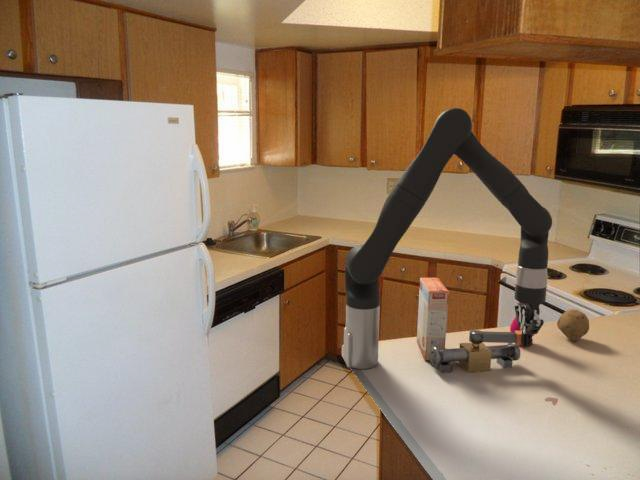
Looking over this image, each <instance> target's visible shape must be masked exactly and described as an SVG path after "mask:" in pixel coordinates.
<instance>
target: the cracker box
mask: <svg viewBox="0 0 640 480" xmlns="http://www.w3.org/2000/svg"><path fill="white" fill-rule="evenodd" d="M418 291H419V294H418V312H417V315H418V316H417V329H416V331H417V332H416V343H417V344H418V348H419V350H420V352H421V354H422V356H423V359H424V361H431V359H430V350H431V348H432V347H438V349H439V350H440V349H446V340H447V339H446V338H447V325H448V323H447V322H448V309H449V308H448V307H449V297H450V296H449V295H450V294H449V293H450V291H449V290H448V289H447V287H446V286H445V285H444V284H443V283H442V281H441V279H440V278H439V277H420V278H419V290H418Z"/></svg>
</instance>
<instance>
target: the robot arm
mask: <svg viewBox="0 0 640 480" xmlns="http://www.w3.org/2000/svg"><path fill="white" fill-rule="evenodd" d="M472 123H473V122H472V118H471V116H470V115H469V113H468V112H467V111H466V110H465V109H463V108H460V107H452V108H449V109H445V110H444V111H442V112H441V113H440V114H439V115H438V117H437V118H436V120H435V122H434V125H433V127H432V129H431V130H430V133H429V135H428V136H427V139H426V140H425V142H424V145H423V146H422V148H421V149H420V151H419V152H418V154H417V156H415V157H414V159H413V160H412V161H411V162H410V164H409V165H408V166H407V167H406V168H405V170H404V171H403V173H402V175H401V176H400V177H399V179H398V180H397V181H396V183H395V185H394V186H393V187H392V189H391V191H390V192H389V194H388V196H387V198H386V199H385V201H384V202H383V206H382V208H381V211H380V212H379V213H380V214H379V216H378V219H377V222H376V224H375V227H374V228H373V230H372V232H371V234H370V235H369V236H368V238H367V239H366V241H365V242H364V243H363V244H358V245H355V246H353V247H352V248H351V249H350V250H349V251H348V253H347V254H346V257H345V263H344V264H345V267H344V269H345V270H344V271H345V272H344V273H345V274H344V275H345V277H344V279H345V283H344V284H345V287H344V289H345V327H344V328H343V356H342V357H343V360H344V362H345V365H346V366H347V368H353V369H359V370H368V369H372V368H375V367H376V366H377V365H378V364H379V341H380V340H379V337H380V335H379V334H380V309H381V307H380V306H381V305H380V304H381V303H380V302H381V300H380V299H381V295H380V290H379V288H380V287H379V278H380V277H381V276H382V274H383V272H384V270H385V268H386V267H387V264H388V262H389V260H390V257H391V256H392V254H393V252H394V251H395V249H396V247H397V245H398V243H399V242H400V241H401V239H402V238H403V237H404V235H405V234H406V233H407V231H408V229H409V228H410V227H411V225H412V223H413V222H414V220H415V219H416V218H417V217H418V215H419V214H420V212H421V211H422V209H423V208H424V206H425V204H426V203H427V201H428V200H429V198H430V196H431V195H432V193H433V191H434V189H435V187H436V185H437V183H438V181H439V179H440V177H441V174H442V173H443V170H444V168H445V167H446V166H447V164H448V162H449V161H450V160H451V158H452V157H453V156H455V157H457V158H458V159H459V160H460V161H462V162H463V163H464V164H465V165H466V166H467V167H468V168H469V170H471V171H472V172H473V174H474V175H475V176H477V179H479V181H481V183H482V184H483V185H484V186H485V187H486V189H488V190H489V192H490V193H491V194H492V195H493V196H494V197H495V198H496V200H497V201H498V202H500V204H502V206H503V207H504V208H505V209H506V210H508V212H509V213H510V214H511V216H512V217H513V218H514V219H515V221H516V223H518V225H519V226H520V245H519V251H518V261H517V268H516V273H515V285H514V286H515V287H514V296H513V297H514V299H515V301H519V305H518V306H517V305H514V311H515V317H516V318H517V323H518V327H521V328H520V330H521V332H522V336H521V345H522V346H523V347H522V348H531V347H532V346H531V344H532V345H533V343H532V339H533V337H532V334H535V335H537V334H538V333H539V332H540V330H541V329H542V327H543V325H544V324H545V323H544V321H545V320H544V319H540V311H541V310H540V305H542V304H544V303H546V299H547V298H546V297H547V287H548V278H549V277H548V264H549V262H548V261H549V246H548V241H549V233H550V232H549V231H550V230H551V228H552V225H553V217H552V215H551V213H550V211H548V209H547V208H546V207H545V206H542V204H540V203H539V202H538V201H537V199H535V197H533V196H532V194H531V193H530V191H529V190H528V189H527V188H526V186H525V185H524V184H523V182H522V181H521V180H520V179H519V178H518V177H517V176H516V175H515V174H514V173H513V172H512V171H511V170H510V169H509V168H508V167H507V166H506V165H505V164H503V162H501V161H499V160H498V158H496V157H495V156H494V155H492V154H491V153H490V152H489V150H487V149H486V148H485V146H484V145H482V144H481V142H480V141H479V140H478V139H477V136H475V134H474V132H473V124H472Z"/></svg>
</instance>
